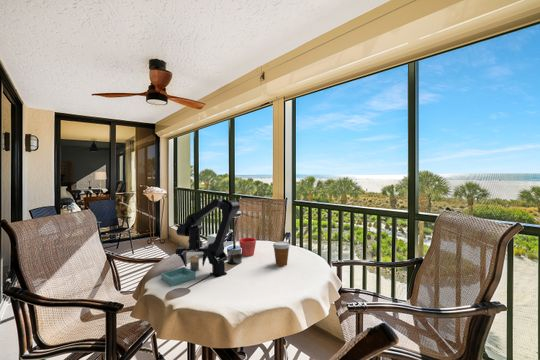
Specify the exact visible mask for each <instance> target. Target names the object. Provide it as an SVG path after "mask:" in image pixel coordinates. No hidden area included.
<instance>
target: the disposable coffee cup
mask: <svg viewBox="0 0 540 360" xmlns="http://www.w3.org/2000/svg"><path fill="white" fill-rule="evenodd" d="M272 246H273V250H274V251H273V252H274V261H275V265H276V266H277V265H279V266H278V267H285V266H284V265H286V266H287V265H288V260H289V258H288V257H289V251H290V243H289V242H287V241H281V240H280V241H275V242H273V245H272Z"/></svg>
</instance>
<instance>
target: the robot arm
mask: <svg viewBox="0 0 540 360" xmlns="http://www.w3.org/2000/svg"><path fill="white" fill-rule="evenodd" d="M240 206H241V205H240V203H239V202H238V201H237V200H227V199H225V198H224V199H223V198H220V197H217V198H213V200H211V202H209V203H207V204H206V205H205V206H203V207H202V208H200V209H199V210H198V211H195V212H193V213H191V214H189V215H187V217H186V219H185V221H184V223H183V222H182V223H179V224H178V225H179V226H177V228H176V231H175V232H176V235H177V236H180V237H188V241H187V242H188V247H186V246H179V247H177V248H176V249H175V255H177V257H179V258H180V259H181V260H182V263H183V264H184V267H185V268H187V267H188V266H187V265H188V263H187V254H188V253H203V254H202V263H201V265H202V267H204V266H205V263H206V260H208V263H209V265H211V266H212V268H211V269H212V270H211V271H212V272H210V273H209V274H210V275H211V276H213V277H215V278H218V277H221V276H225V275H228V271H227V272H226V271H225V268H226V267H225V265H226V264H225V261H227V260H228V257H229V256H228V255H227V253H226V252H225V245H224V242H225V240H226V238H227V235H228V232H229V229H230V226H231V223H232V220H233V219H234V217H236V216H237V214H238V212H239V210H240V208H241V207H240ZM216 209H219V210H221V214H222V217H221V221H220V224H219V226H218V230H217V232H216V234H217V235H216V238H215V241H214V242H213V243H210V244H209V245H208V246H207V245H206V246H204V247H203V241H202V240H201V230H203V229H204V227H203V226H202V225H201V223H202V222H203V221H204V219H205V218H206V217H207V216H208V215H209V214H211V213H212V212H214V211H215V210H216Z"/></svg>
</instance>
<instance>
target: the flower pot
mask: <svg viewBox="0 0 540 360" xmlns="http://www.w3.org/2000/svg"><path fill="white" fill-rule="evenodd" d="M238 243H239V248H240V247H241V248H242V254H241V256H242V255H243V256H242V257H251V256H254V254H255V251H256V250H255V249H256V244H257V239H256V238H253V237H244V238H240V239H239V240H238Z"/></svg>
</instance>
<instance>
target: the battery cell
mask: <svg viewBox="0 0 540 360" xmlns="http://www.w3.org/2000/svg"><path fill="white" fill-rule="evenodd" d="M189 258H190V259H189V266H190V269H189V270H191V271H193V272H196V271H197V272H198V271H199V270H200V263H199V262H200V257H199V255H191V256H190V257H189Z"/></svg>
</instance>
